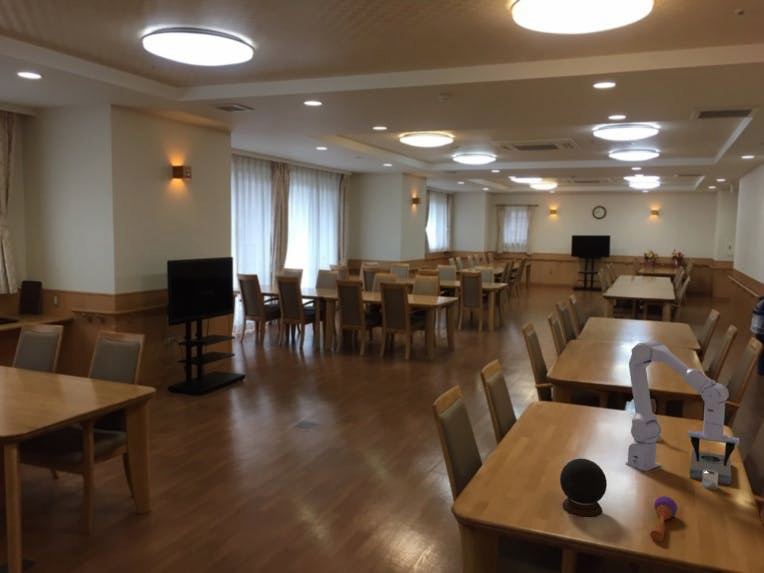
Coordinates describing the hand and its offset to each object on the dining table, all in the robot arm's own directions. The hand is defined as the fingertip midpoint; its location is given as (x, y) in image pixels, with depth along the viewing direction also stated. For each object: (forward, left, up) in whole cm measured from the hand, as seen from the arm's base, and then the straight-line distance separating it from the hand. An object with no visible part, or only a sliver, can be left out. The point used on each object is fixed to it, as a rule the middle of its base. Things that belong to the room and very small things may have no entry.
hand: (711, 462), depth 193 cm
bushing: (0, 0, -8) cm, 8 cm away
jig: (+13, +7, -8) cm, 17 cm away
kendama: (-38, -6, -9) cm, 39 cm away
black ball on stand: (-48, +14, -8) cm, 50 cm away
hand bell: (+27, +37, -8) cm, 47 cm away
